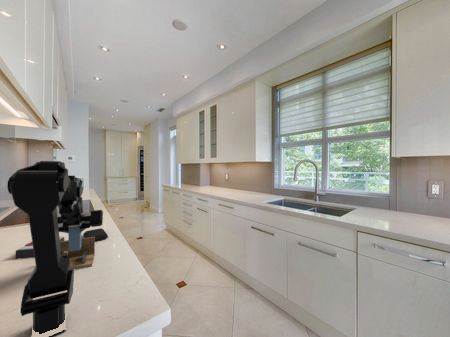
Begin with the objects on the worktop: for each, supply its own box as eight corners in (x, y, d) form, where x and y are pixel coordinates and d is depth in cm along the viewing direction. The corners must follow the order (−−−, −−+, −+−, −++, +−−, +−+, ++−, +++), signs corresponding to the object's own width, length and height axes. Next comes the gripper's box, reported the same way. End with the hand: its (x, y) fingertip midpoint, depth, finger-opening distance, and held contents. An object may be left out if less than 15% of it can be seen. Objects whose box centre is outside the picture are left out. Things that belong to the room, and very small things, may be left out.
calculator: (64, 235, 98) (47, 246, 84) (64, 244, 98) (47, 256, 84) (37, 237, 95) (15, 249, 80) (37, 246, 95) (14, 259, 80)
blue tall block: (79, 250, 76) (79, 219, 76) (68, 252, 74) (68, 220, 74) (81, 246, 80) (81, 216, 79) (70, 248, 78) (70, 217, 78)
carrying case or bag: (80, 236, 107) (83, 245, 96) (80, 230, 107) (83, 239, 96) (103, 232, 114) (108, 240, 103) (103, 227, 114) (108, 234, 103)
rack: (92, 266, 76) (92, 245, 76) (44, 275, 69) (44, 253, 69) (94, 254, 85) (94, 236, 85) (52, 261, 78) (52, 242, 78)
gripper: (102, 189, 78) (104, 211, 87) (40, 192, 69) (49, 216, 78) (101, 214, 71) (103, 234, 81) (31, 220, 62) (42, 243, 72)
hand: (75, 231), depth 78 cm, fingers closed on blue tall block, 3 cm apart
